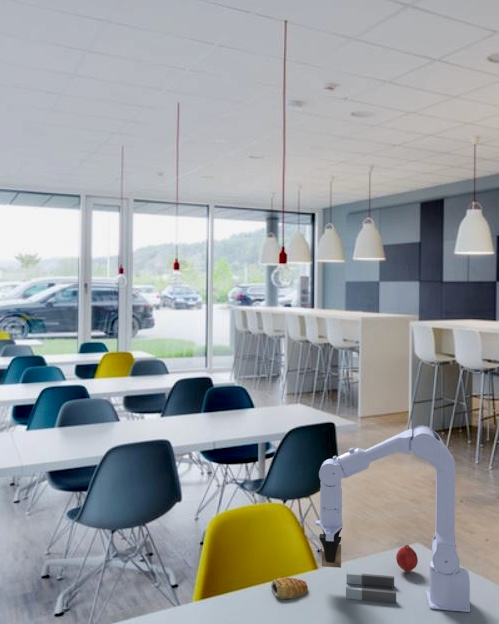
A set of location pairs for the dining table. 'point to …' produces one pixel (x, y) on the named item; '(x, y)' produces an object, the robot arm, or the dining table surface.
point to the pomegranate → (407, 558)
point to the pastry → (288, 587)
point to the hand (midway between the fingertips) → (331, 557)
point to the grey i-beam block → (371, 587)
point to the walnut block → (337, 560)
